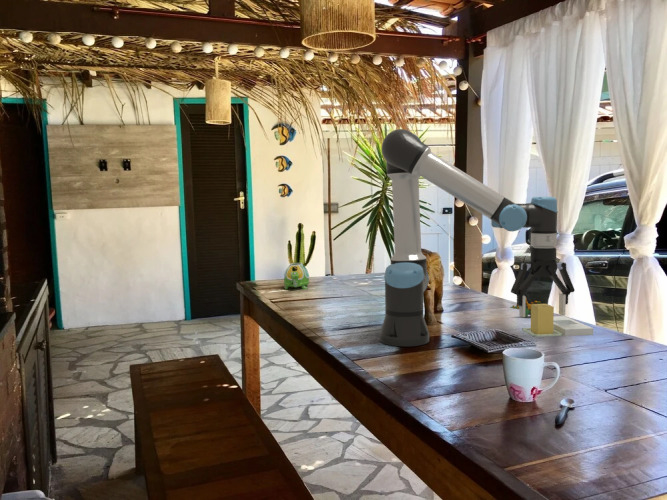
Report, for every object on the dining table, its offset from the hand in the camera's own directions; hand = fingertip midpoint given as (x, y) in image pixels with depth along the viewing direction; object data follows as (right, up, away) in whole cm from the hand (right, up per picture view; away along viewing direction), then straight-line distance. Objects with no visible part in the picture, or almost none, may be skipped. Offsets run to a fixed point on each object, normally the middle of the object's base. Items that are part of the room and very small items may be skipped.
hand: (542, 315), depth 181 cm
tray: (0, -6, +1) cm, 6 cm away
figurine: (+3, -4, +23) cm, 23 cm away
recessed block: (+9, -6, +5) cm, 12 cm away
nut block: (0, -6, +1) cm, 6 cm away
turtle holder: (-83, +2, +98) cm, 128 cm away
